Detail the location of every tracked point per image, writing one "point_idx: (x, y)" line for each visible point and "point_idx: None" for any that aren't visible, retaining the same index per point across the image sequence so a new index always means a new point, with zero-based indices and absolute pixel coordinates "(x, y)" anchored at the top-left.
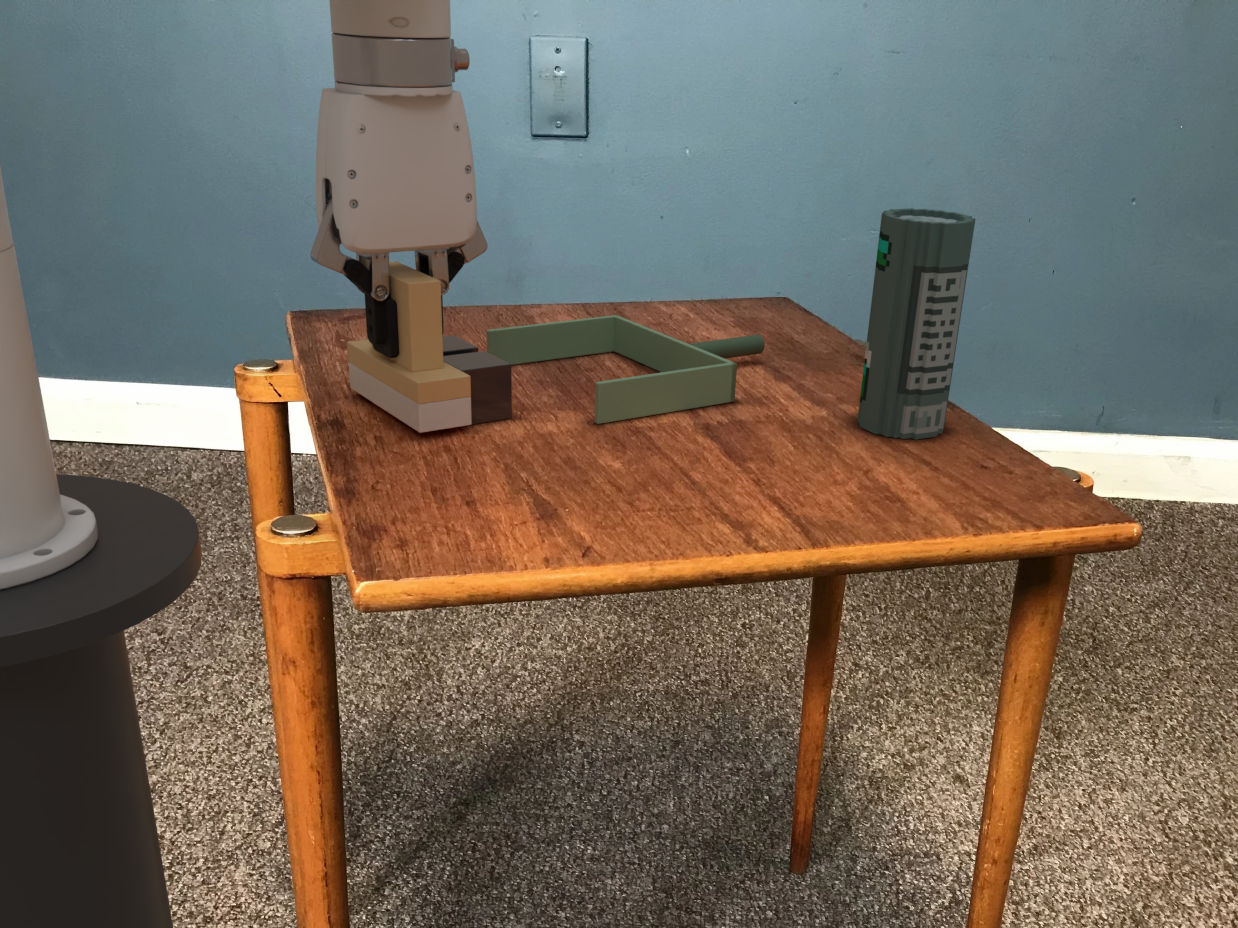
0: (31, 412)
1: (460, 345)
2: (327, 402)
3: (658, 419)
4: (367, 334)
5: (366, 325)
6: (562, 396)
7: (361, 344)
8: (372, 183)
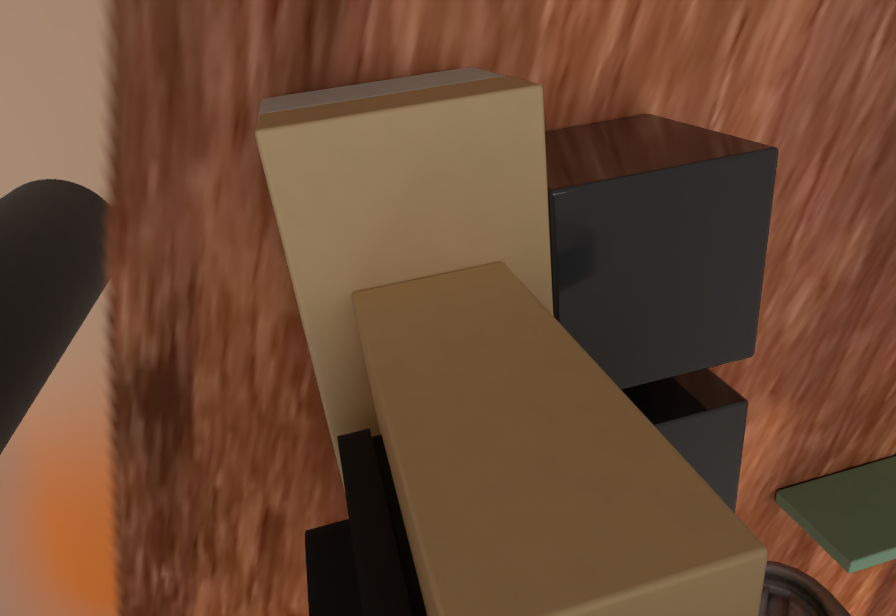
0: None
1: (712, 323)
2: (154, 167)
3: None
4: (306, 541)
5: (307, 569)
6: (846, 293)
7: (322, 211)
8: None
